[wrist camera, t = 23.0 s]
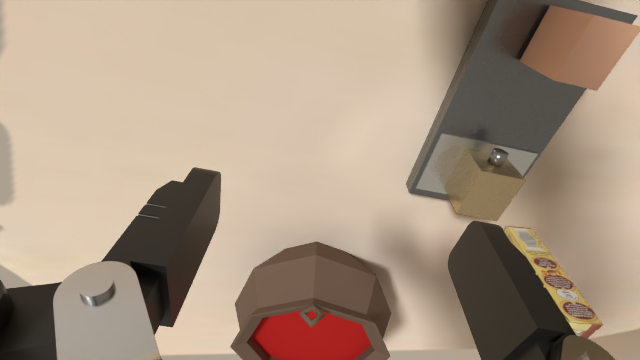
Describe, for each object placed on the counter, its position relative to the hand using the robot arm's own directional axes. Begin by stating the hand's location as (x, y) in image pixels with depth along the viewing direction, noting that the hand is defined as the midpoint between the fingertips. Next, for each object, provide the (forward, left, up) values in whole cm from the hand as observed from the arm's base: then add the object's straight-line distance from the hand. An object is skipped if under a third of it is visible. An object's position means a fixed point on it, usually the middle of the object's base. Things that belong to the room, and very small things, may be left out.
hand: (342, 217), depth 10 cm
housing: (+11, +20, -26) cm, 34 cm away
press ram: (-5, +20, -26) cm, 33 cm away
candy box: (+24, +33, -28) cm, 50 cm away
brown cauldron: (+37, +5, -28) cm, 47 cm away
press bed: (+4, +20, -28) cm, 35 cm away
